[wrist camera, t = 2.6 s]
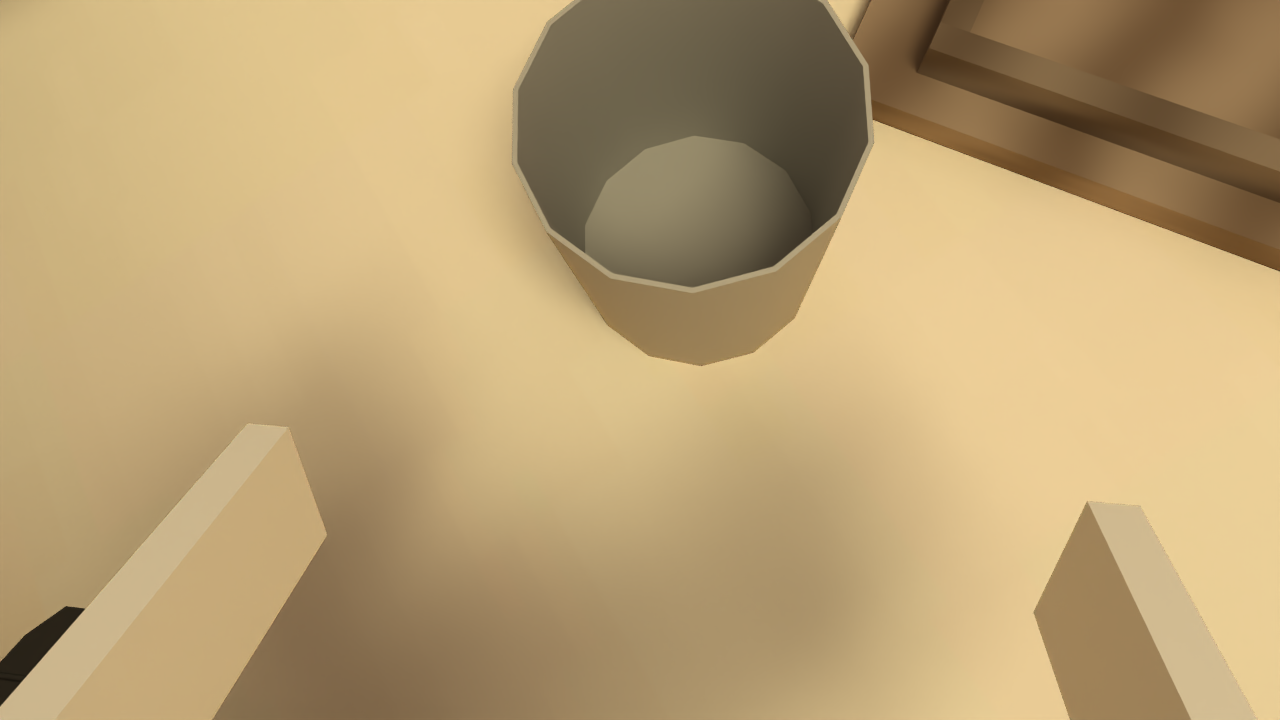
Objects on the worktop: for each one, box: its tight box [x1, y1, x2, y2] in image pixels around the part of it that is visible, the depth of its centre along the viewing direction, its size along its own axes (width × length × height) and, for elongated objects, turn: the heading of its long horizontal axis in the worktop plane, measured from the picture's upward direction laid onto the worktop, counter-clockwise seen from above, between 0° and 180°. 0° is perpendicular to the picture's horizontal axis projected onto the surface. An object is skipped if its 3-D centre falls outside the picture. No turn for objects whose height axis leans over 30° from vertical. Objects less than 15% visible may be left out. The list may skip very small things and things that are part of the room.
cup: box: [512, 0, 874, 366], centre depth 22 cm, size 8×8×10 cm
